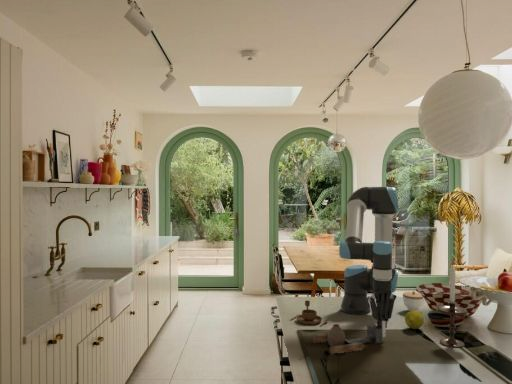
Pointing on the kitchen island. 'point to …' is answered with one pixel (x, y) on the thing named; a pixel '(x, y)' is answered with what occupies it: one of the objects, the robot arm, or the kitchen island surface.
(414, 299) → the lidded jar
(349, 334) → the kitchen island surface
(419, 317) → the lemon
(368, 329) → the lopsided grey dumbbell
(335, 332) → the vase
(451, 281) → the candlestick
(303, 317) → the place setting
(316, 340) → the channel
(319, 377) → the kitchen island surface
